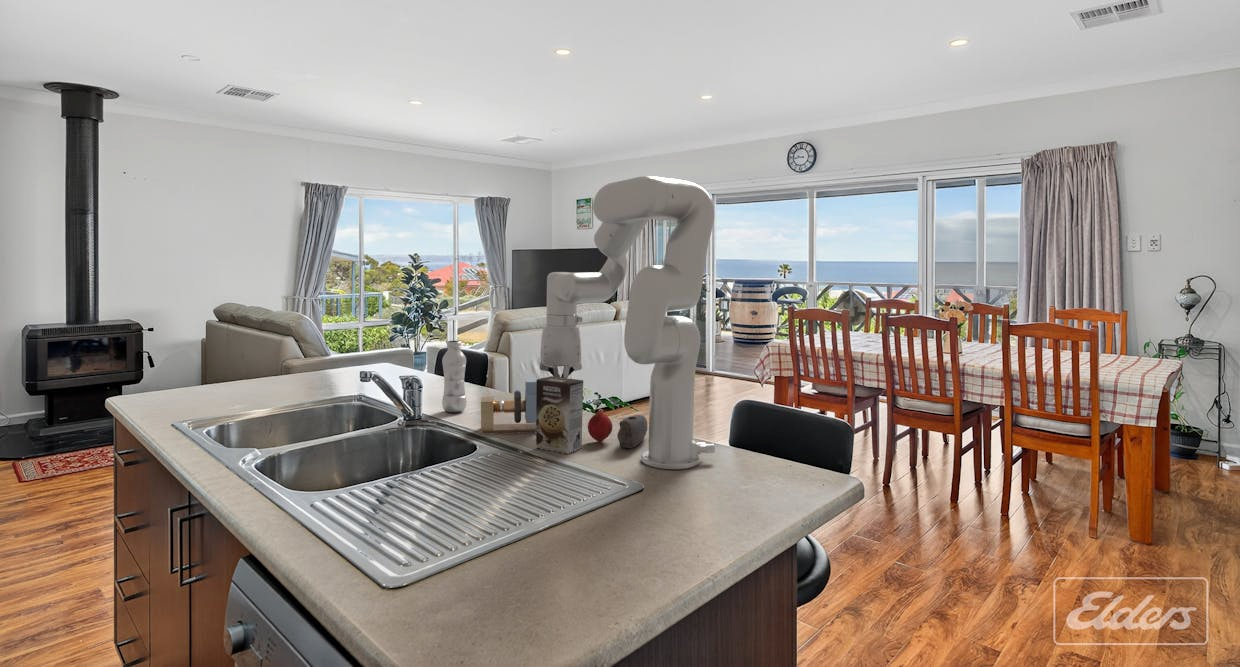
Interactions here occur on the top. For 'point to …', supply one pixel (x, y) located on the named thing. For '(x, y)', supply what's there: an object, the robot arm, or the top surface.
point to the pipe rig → (501, 407)
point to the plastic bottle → (454, 378)
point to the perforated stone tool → (632, 431)
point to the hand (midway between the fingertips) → (560, 392)
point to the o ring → (517, 406)
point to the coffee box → (559, 414)
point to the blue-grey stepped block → (530, 401)
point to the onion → (599, 426)
